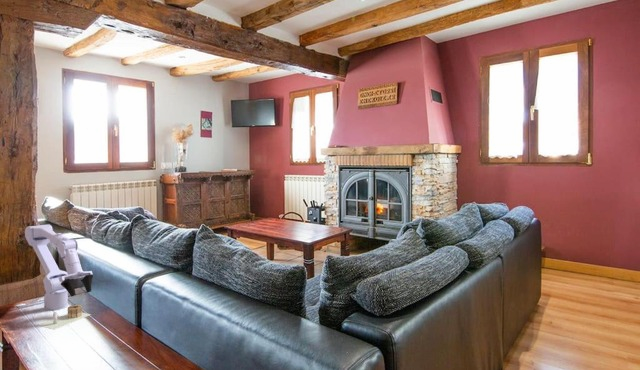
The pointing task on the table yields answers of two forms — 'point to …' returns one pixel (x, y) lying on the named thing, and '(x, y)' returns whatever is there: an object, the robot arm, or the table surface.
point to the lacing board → (61, 321)
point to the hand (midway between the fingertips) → (81, 293)
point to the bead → (75, 311)
